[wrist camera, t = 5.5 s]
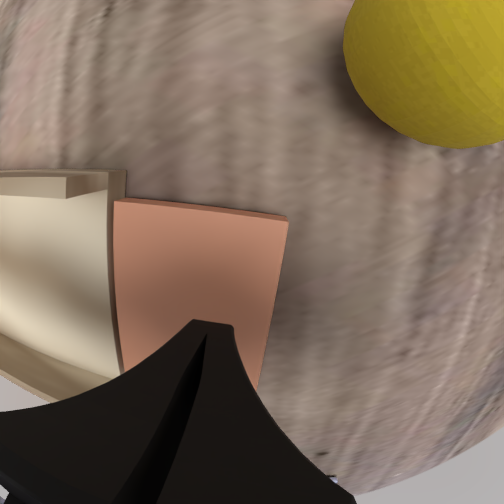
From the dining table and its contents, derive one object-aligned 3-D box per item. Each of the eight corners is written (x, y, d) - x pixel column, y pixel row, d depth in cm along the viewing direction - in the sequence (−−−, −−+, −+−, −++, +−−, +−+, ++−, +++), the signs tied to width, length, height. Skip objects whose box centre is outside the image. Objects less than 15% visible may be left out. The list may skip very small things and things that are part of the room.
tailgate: (125, 377, 11) (254, 400, 11) (114, 201, 9) (288, 221, 9) (132, 364, 12) (254, 385, 12) (126, 197, 10) (285, 216, 10)
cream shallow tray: (132, 371, 13) (104, 425, 9) (-3, 320, 13) (-37, 348, 9) (126, 170, 10) (66, 177, 6) (-22, 172, 10) (-70, 182, 6)
